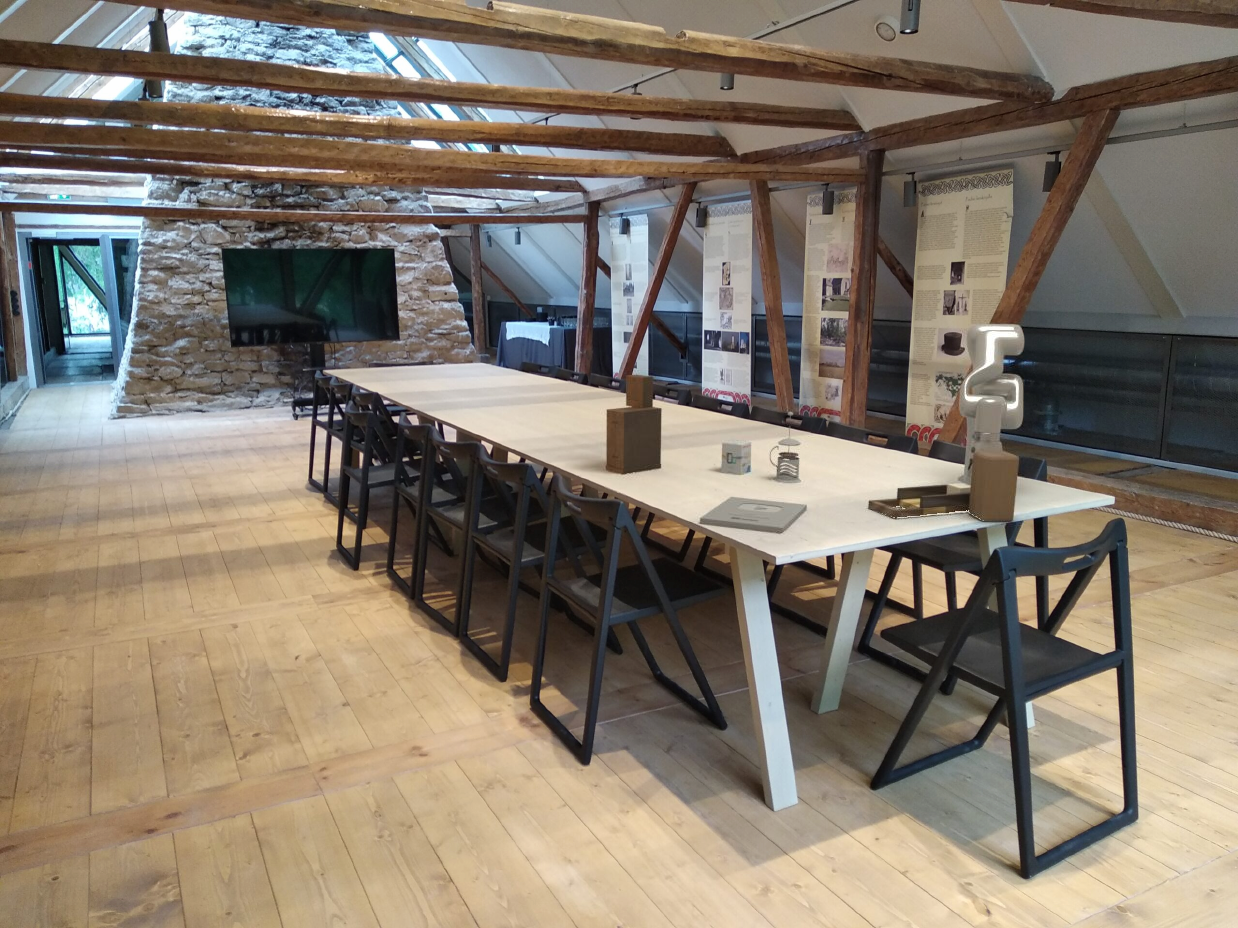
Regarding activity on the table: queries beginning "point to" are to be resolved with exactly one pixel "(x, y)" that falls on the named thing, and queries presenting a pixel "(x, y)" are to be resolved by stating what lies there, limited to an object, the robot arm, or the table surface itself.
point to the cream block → (958, 488)
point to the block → (993, 485)
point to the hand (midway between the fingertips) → (981, 493)
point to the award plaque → (754, 514)
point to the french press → (787, 461)
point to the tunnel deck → (922, 501)
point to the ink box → (736, 457)
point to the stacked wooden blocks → (634, 430)
